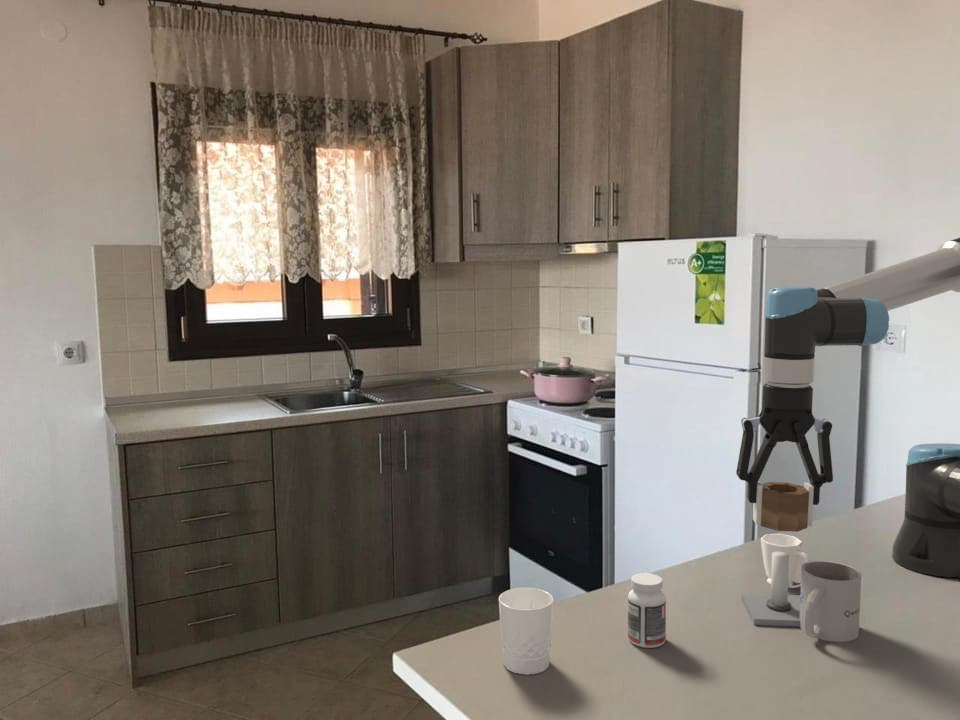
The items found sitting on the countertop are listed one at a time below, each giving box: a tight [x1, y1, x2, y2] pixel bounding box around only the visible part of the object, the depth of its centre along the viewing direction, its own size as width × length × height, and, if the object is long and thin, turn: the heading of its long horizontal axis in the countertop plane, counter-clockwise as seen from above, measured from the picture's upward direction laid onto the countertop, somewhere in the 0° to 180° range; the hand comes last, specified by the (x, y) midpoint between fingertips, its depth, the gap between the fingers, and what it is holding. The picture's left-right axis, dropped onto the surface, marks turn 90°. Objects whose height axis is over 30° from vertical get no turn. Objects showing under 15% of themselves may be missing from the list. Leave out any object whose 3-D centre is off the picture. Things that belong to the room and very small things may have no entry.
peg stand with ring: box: [741, 552, 800, 628], centre depth 132 cm, size 10×10×10 cm
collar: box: [760, 481, 809, 533], centre depth 131 cm, size 7×7×6 cm
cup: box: [760, 533, 811, 589], centre depth 143 cm, size 7×10×8 cm
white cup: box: [498, 587, 554, 676], centre depth 117 cm, size 8×8×10 cm
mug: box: [799, 560, 862, 643], centre depth 125 cm, size 12×9×10 cm
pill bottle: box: [627, 572, 667, 649], centre depth 123 cm, size 6×6×10 cm
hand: (781, 522), depth 131 cm, fingers closed on collar, 7 cm apart
